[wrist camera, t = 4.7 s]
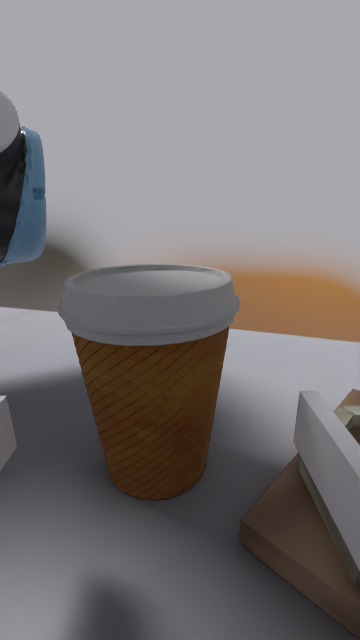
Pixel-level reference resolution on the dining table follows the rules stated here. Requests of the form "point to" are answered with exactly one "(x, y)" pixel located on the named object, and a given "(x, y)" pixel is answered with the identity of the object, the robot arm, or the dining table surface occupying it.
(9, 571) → the dining table surface
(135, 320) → the disposable coffee cup
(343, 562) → the cup holder board
